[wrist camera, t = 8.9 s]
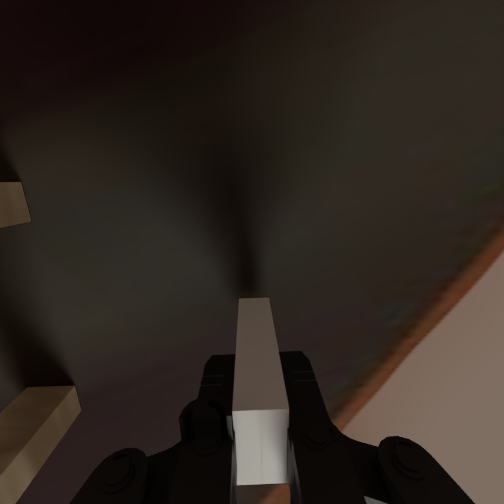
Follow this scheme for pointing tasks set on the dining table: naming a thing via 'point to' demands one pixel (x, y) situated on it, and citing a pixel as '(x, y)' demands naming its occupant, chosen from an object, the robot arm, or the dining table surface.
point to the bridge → (29, 398)
